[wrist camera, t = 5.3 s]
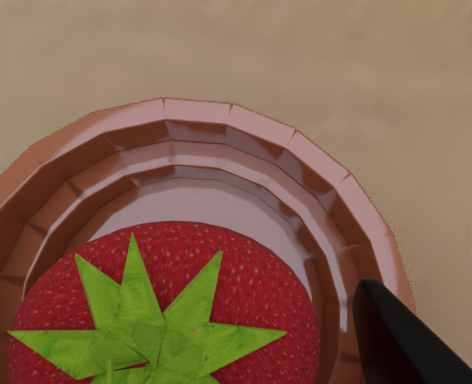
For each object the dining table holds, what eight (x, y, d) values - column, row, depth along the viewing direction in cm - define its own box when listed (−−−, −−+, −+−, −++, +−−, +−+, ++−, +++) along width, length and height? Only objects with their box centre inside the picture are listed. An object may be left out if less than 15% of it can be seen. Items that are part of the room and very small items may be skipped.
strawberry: (287, 392, 15) (422, 630, 5) (82, 399, 15) (-192, 672, 5) (281, 234, 16) (383, 182, 6) (90, 236, 16) (-121, 187, 6)
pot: (429, 367, 16) (512, 407, 11) (118, 596, 14) (72, 751, 10) (242, 86, 18) (251, 24, 13) (-55, 254, 16) (-163, 249, 11)
